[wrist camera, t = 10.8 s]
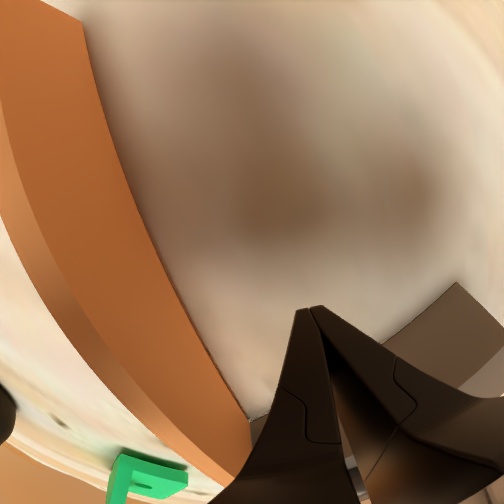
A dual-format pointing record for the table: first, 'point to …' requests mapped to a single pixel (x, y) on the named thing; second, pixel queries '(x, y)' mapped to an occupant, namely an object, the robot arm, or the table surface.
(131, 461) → the camera mount
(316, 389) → the robot arm
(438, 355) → the camera case
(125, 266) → the side door
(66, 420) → the table surface
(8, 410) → the cola bottle
